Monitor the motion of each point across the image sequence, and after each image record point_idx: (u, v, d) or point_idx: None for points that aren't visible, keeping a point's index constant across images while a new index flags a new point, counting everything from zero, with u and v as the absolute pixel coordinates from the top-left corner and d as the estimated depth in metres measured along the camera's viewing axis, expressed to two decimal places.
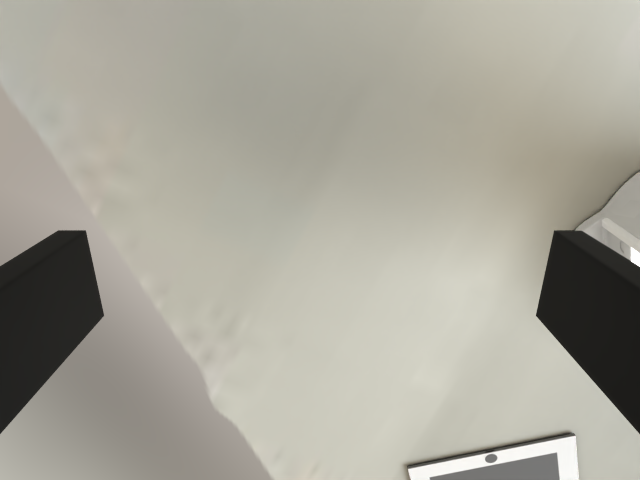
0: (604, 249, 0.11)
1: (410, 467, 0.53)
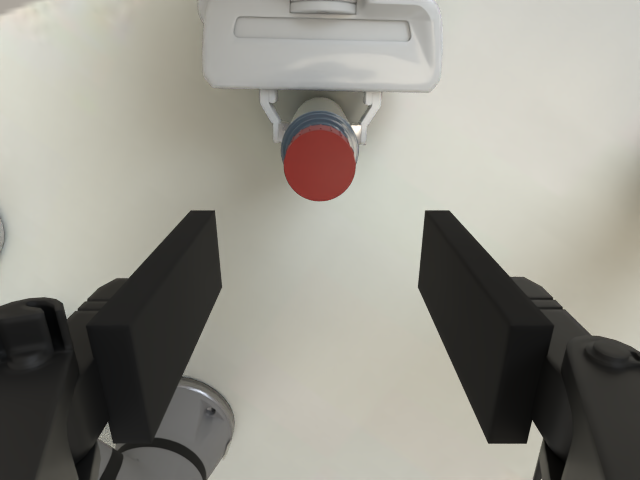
0: (455, 224, 0.12)
1: None
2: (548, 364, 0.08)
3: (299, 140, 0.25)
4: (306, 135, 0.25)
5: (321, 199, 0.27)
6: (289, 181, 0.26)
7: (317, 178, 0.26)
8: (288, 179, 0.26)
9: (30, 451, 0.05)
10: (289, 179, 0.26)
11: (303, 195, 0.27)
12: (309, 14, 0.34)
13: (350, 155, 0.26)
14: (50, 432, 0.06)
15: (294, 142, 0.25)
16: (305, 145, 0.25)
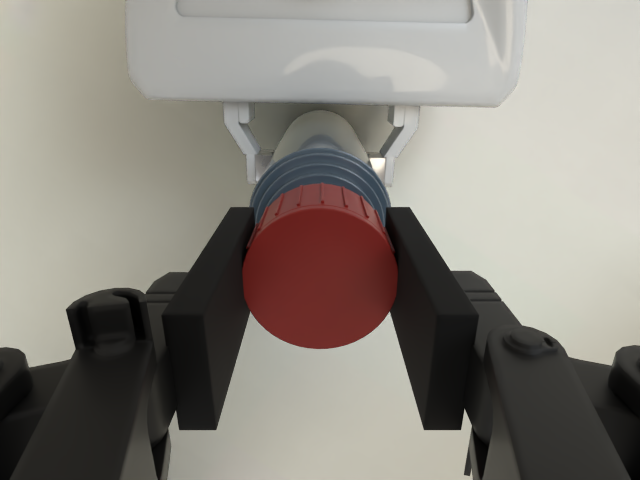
0: (411, 220, 0.13)
1: None
2: (474, 351, 0.08)
3: (274, 230, 0.11)
4: (290, 219, 0.11)
5: (323, 346, 0.13)
6: (254, 311, 0.12)
7: (314, 305, 0.12)
8: (252, 307, 0.12)
9: (117, 437, 0.05)
10: (254, 307, 0.12)
11: (285, 338, 0.12)
12: None
13: (388, 261, 0.12)
14: (134, 420, 0.06)
15: (263, 234, 0.11)
16: (288, 240, 0.11)
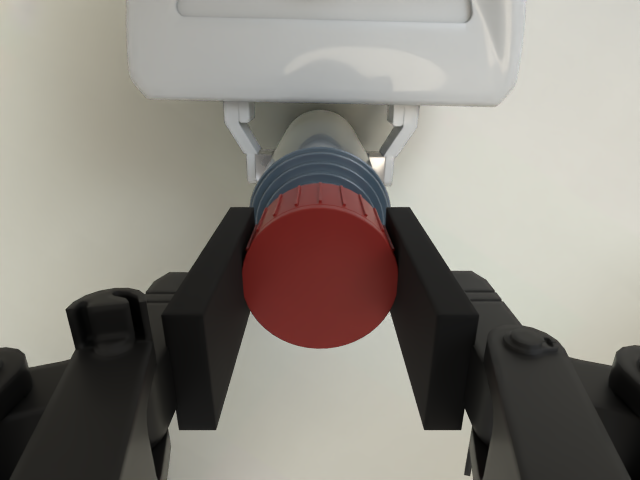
0: (411, 220, 0.13)
1: None
2: (474, 351, 0.08)
3: (277, 330, 0.12)
4: (263, 320, 0.12)
5: (392, 263, 0.12)
6: (366, 331, 0.12)
7: (345, 282, 0.12)
8: (362, 334, 0.12)
9: (117, 437, 0.05)
10: (362, 332, 0.12)
11: (390, 300, 0.12)
12: None
13: (276, 228, 0.11)
14: (134, 420, 0.06)
15: (284, 338, 0.12)
16: (283, 318, 0.12)
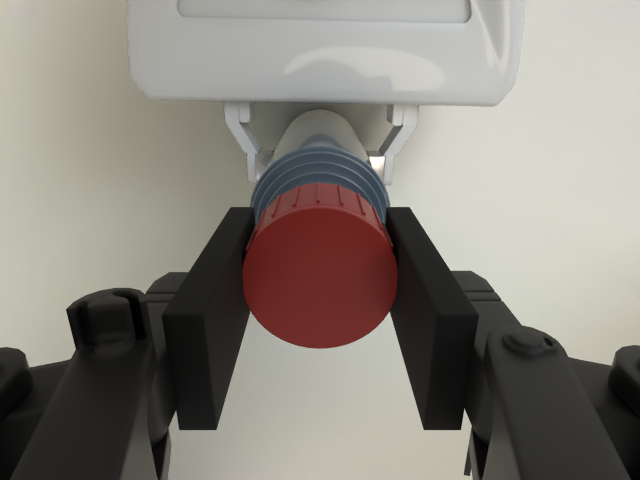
0: (411, 220, 0.13)
1: None
2: (474, 351, 0.08)
3: (383, 308, 0.12)
4: (375, 321, 0.12)
5: (278, 224, 0.11)
6: (365, 225, 0.11)
7: (312, 260, 0.12)
8: (369, 228, 0.11)
9: (117, 437, 0.05)
10: (367, 229, 0.11)
11: (320, 212, 0.11)
12: None
13: (275, 329, 0.12)
14: (135, 420, 0.06)
15: (391, 300, 0.12)
16: (368, 305, 0.12)
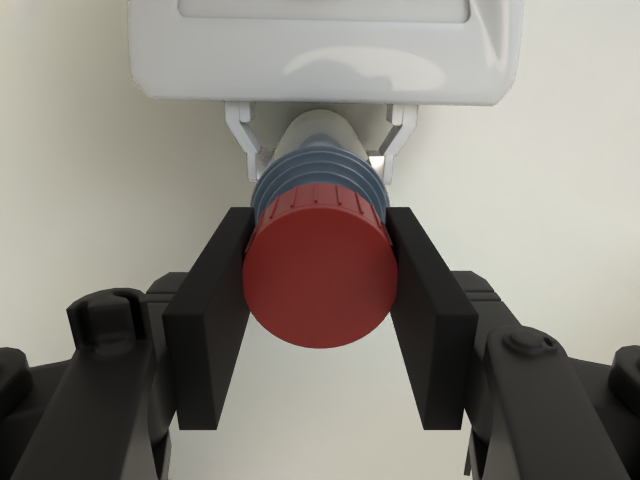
0: (411, 220, 0.13)
1: None
2: (474, 351, 0.08)
3: (332, 215, 0.11)
4: (351, 219, 0.11)
5: (271, 329, 0.12)
6: (248, 259, 0.12)
7: (298, 294, 0.12)
8: (250, 254, 0.11)
9: (117, 437, 0.05)
10: (251, 256, 0.11)
11: (248, 299, 0.12)
12: None
13: (382, 310, 0.12)
14: (135, 420, 0.06)
15: (321, 210, 0.11)
16: (333, 232, 0.11)
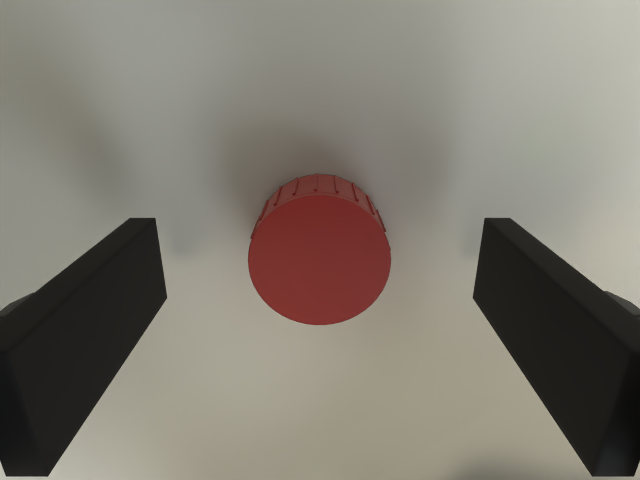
0: (523, 234, 0.12)
1: None
2: None
3: (330, 202, 0.12)
4: (347, 206, 0.12)
5: (274, 307, 0.14)
6: (254, 242, 0.13)
7: (300, 275, 0.13)
8: (256, 238, 0.13)
9: None
10: (257, 239, 0.13)
11: (254, 279, 0.13)
12: None
13: (376, 289, 0.13)
14: None
15: (320, 198, 0.12)
16: (331, 217, 0.12)
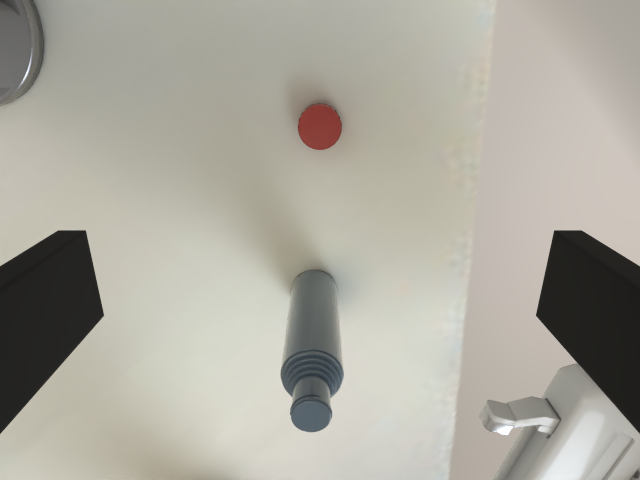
0: (604, 249, 0.11)
1: None
2: None
3: (323, 107, 0.42)
4: (328, 109, 0.42)
5: (306, 143, 0.44)
6: (300, 120, 0.43)
7: (313, 131, 0.43)
8: (301, 119, 0.43)
9: None
10: (301, 119, 0.43)
11: (300, 133, 0.43)
12: None
13: (337, 136, 0.43)
14: None
15: (320, 106, 0.42)
16: (323, 112, 0.43)
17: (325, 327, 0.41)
